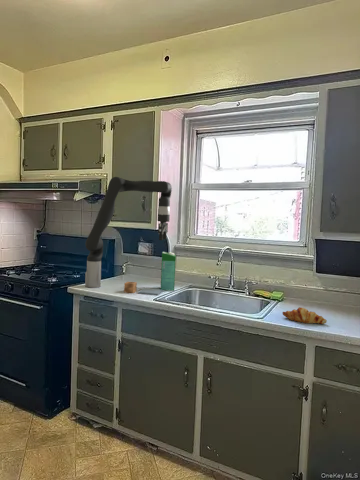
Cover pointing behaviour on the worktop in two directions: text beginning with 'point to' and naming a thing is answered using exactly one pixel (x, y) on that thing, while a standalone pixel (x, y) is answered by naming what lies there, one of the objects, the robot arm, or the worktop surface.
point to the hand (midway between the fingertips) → (162, 239)
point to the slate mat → (150, 291)
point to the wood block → (130, 287)
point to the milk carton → (168, 271)
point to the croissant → (304, 316)
